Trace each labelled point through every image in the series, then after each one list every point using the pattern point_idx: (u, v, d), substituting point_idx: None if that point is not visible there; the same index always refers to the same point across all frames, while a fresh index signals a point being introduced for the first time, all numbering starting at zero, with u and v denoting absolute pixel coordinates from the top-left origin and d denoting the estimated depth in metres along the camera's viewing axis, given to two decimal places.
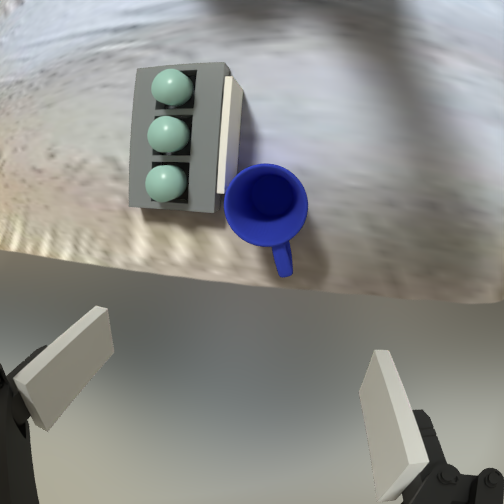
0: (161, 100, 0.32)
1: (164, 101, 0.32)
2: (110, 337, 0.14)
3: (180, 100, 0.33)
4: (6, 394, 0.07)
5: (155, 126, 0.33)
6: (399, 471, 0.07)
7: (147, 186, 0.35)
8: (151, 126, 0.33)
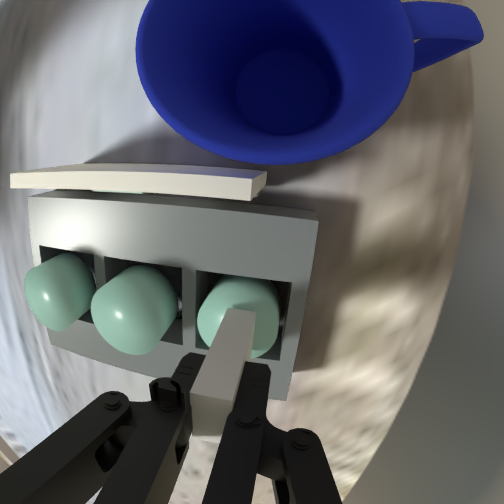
0: (68, 316, 0.16)
1: (69, 310, 0.16)
2: None
3: (73, 279, 0.16)
4: (178, 420, 0.08)
5: (111, 335, 0.16)
6: None
7: None
8: (112, 343, 0.16)
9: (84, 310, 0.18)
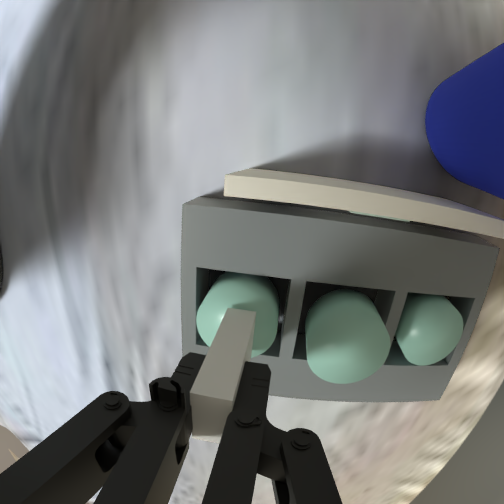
0: (269, 341, 0.16)
1: (272, 335, 0.16)
2: None
3: (272, 299, 0.17)
4: (178, 420, 0.08)
5: (326, 368, 0.15)
6: None
7: (428, 361, 0.16)
8: (324, 376, 0.15)
9: None
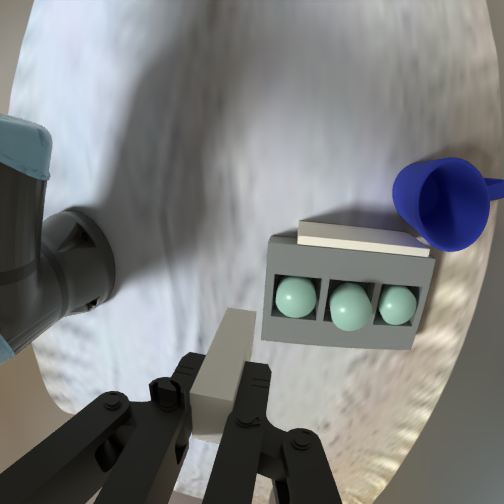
0: (312, 307, 0.33)
1: (313, 303, 0.33)
2: None
3: (312, 286, 0.34)
4: (178, 420, 0.08)
5: (341, 322, 0.31)
6: None
7: (398, 322, 0.32)
8: (340, 326, 0.31)
9: None
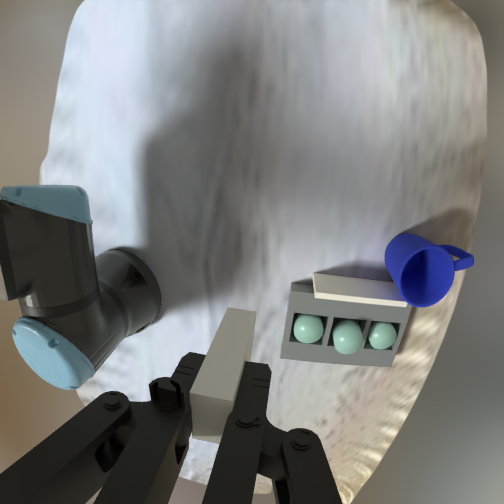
0: (319, 336, 0.44)
1: (321, 334, 0.44)
2: None
3: (321, 321, 0.45)
4: (178, 420, 0.08)
5: (341, 348, 0.42)
6: None
7: (382, 348, 0.44)
8: (340, 351, 0.42)
9: None
